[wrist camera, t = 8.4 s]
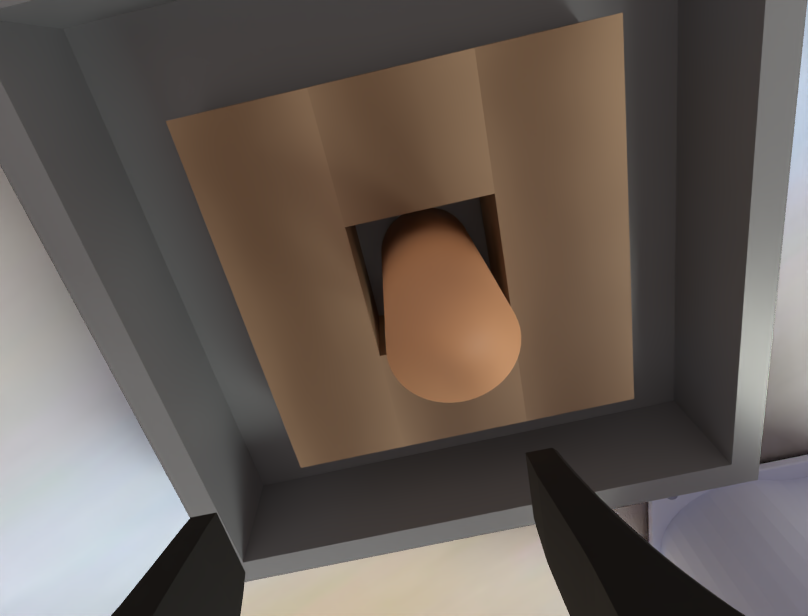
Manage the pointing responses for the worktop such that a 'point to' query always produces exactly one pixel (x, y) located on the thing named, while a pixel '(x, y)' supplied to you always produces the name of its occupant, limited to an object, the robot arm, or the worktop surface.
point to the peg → (444, 310)
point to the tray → (218, 311)
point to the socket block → (417, 190)
